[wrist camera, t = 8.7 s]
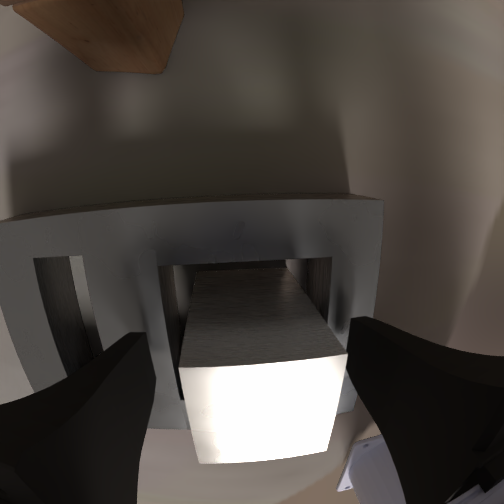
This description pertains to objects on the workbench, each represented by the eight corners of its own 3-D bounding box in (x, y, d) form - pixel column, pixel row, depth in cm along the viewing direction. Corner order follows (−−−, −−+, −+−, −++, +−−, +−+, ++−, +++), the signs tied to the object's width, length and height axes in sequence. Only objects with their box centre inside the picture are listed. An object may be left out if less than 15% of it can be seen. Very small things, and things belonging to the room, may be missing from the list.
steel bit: (286, 267, 13) (348, 353, 7) (284, 343, 14) (326, 450, 8) (196, 271, 13) (178, 367, 6) (203, 347, 14) (199, 463, 7)
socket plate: (350, 193, 13) (383, 200, 10) (334, 376, 15) (353, 410, 12) (20, 214, 11) (-17, 225, 8) (64, 382, 14) (45, 413, 11)
